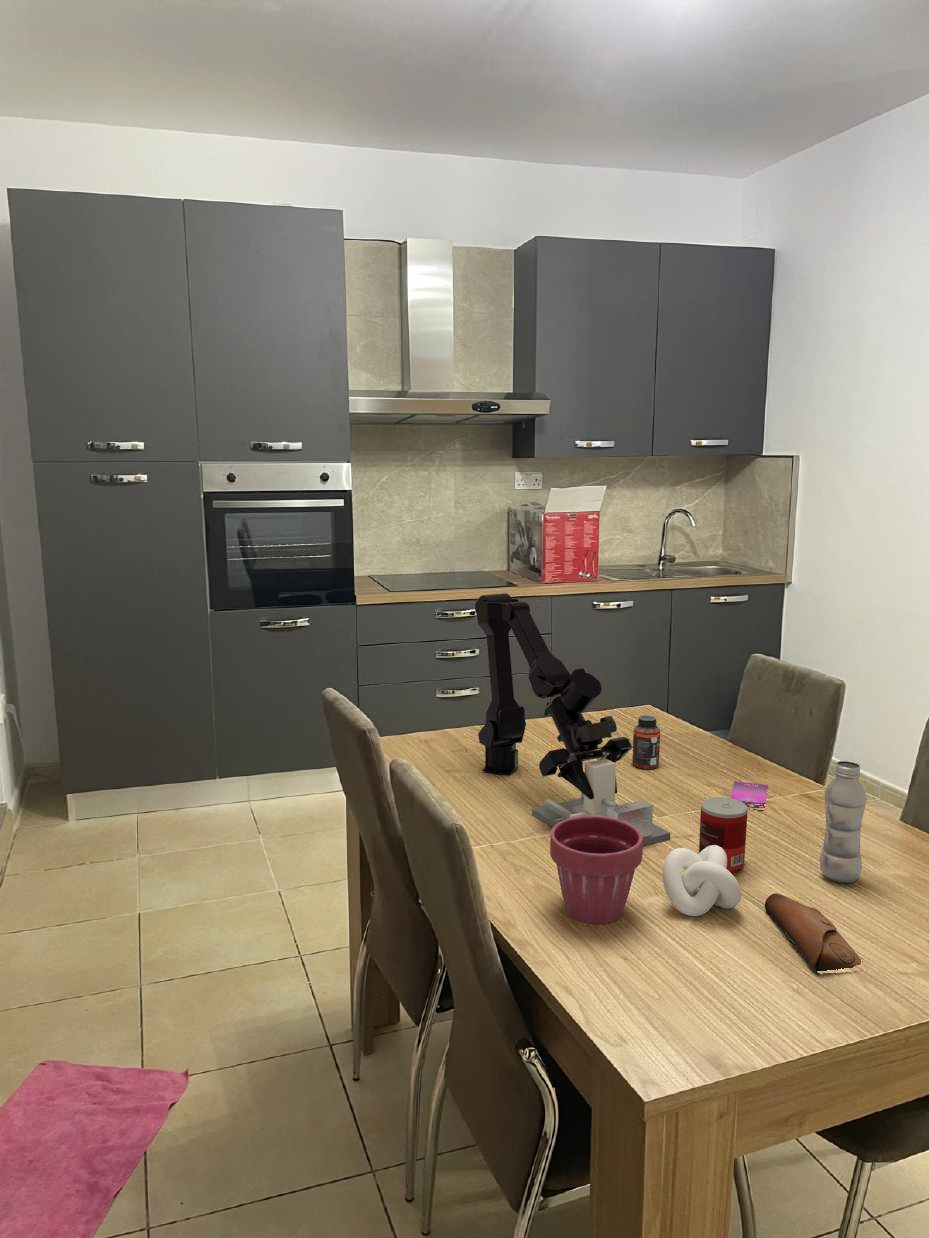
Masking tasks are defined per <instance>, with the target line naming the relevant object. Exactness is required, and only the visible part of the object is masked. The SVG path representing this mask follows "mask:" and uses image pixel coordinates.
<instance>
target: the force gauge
mask: <svg viewBox="0 0 929 1238" xmlns="http://www.w3.org/2000/svg"><path fill="white" fill-rule="evenodd" d="M616 768H617V762H616V763H614V762H612V761H610V760H608V759H602V760H597V759H596V760H594V761H588V762H585V763H584V773H585V775H586V777H587V780H588V782H589V784H590V786H591V788H592V791H593V794H594V798H593V799H592V800H590V799H589V798H588V797H587V796H585V795H584V805H579V806H575V807H572V813H574V814H572V815H570V818H573V817H579V816H604V817H607V811H608V808H610V807H614V806H617V805H618V804H617V803H616V794H615V778H616V779H617V775H616V774H617V769H616ZM616 804H617V805H616Z"/></svg>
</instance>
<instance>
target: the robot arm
mask: <svg viewBox="0 0 929 1238" xmlns="http://www.w3.org/2000/svg"><path fill="white" fill-rule="evenodd" d="M530 607H531V606H530V605H529V604H528V603H527V602H526V601H523V600H521V599H519V598H515V597H511V595H510V594H509V593H507V592H503V593H495V594H494V593H493V594H492V593H491V594H482V595H480V596H479V597H478V599H477V601H476V602H475V604H474V610H475V614H476V618H477V624H478V626H479V627H480V628H481V630H482V631H483V633H484V634H485V635H486V645H487V647H486V648H487V656H488V658H487V659H488V667H489V668H488V669H489V678H490V679H489V680H490V691H491V694H490V695H491V701H490V704H489V706H488V709H486V712H485V724H484V725H483V726H482V728H481V729H480V730H479V732H478V734H477V737H478V741H479V744H481V745H483V746H484V747H485V749H484V751H485V752H484V754H485V755H484V756H485V757H484V758H485V759H484V760H485V761H484V764H485V765H484V767H483V769H482V772H483V773H484V772H485V773H490V774H491V773H492V774H497V775H498V774H499V775H505V776H506V775H507V776H510V775H511V774H513V772H515V770H516V769H517V768H518V767H519V749H518V748H517V744H522V743H523V739H524V735H525V731H526V725H527V721H526V715H525V714H526V713H525V708H524V706H522V705H521V706H520V705H519V703H518V701H516V698H515V691H514V678H513V668H512V656H511V646H510V644H511V643H510V632H511V631H512V632H513V635H514V637H515V639H516V641H517V643H518V645H519V647H520V649H521V651H522V653H523V654H524V658H525V659H526V662H527V664H528V666H529V673H528V680H529V683H530V684H531V689H532V691H533V693H534V694H535V697H537V698H539V699H548V698H553V700H551V701H549V702H546V705H545V706H546V707H545V709H544V712H543V714H544V717H551V718H552V721H553V724H554V725H555V727H556V729H557V732H558V734H559V735H558V736H557V737H556V739H557V741H558V743H561V742H563V745H564V747H565V748H564V747H563V748H557V749H552V750H549V751H548V752H547V753H546V754H545V755H544V757H542V759H541V760H540V761H539V764H538V767H539V768H538V769H539V771H540V774H541V776H542V777H548V776H553V775H557V777H558V778H562V779H564V780H565V781H567V782H568V783H569V784H571V785H572V786H573V787H575V788H576V789H577V790H579V791H580V793H581V792H582V793H583V794H584V795H585V796H587V797H588V798H589V799H590V800H592V799H593V798H594V794H593V791H592V788H591V786H590V784H589V782H588V780H587V777H586V775H585V770H584V766H583V765H584V764H583V762H586V761H590V760H596V761H597V760H602V759H608V760H610V761H612V762H614V763H616V764H617V762H618V761H621V760H622V759H623V758H624V757H625V756H626V755H627V754H628V753H629V752H630V751H631V750H633V744H632V743H631V741H630V739H629V738H628V737H626V736H620V737H615V738H612V737H613V735H612V734H613V733H616V732H617V730H618V727H617V724H616V721H615V720H614V718H613V716H612V715H608V716H604V717H601V718H599V722H592V721H591V720H590V719H586V720H585V717H584V714H583V712H586V710H587V709H589V707H590V706H591V705H592V704H593V703H594V702H595V700H597V698H598V697H599V696H601V695H600V694H601V692H602V683H601V682H600V680H599V679H597V678H596V676H594V675H592V674H591V673H588V672H586V671H585V668H583V667H581V668H575V669H573V671H572V672H570V671H569V669H567V667H566V666H565V664H564V662H563V661H562V660H560V659H559V658H557V657H556V656H554V655H553V654H552V653H551V651H550V649H549V647H548V646H547V643H546V642H545V640H544V637H543V636H542V633H541V632H540V629H539V628H538V625H537V624H536V622H535V620H534V618H533V616H532V614H531V608H530ZM606 738H607V739H609V740H608V741H607V742H606V743H605V744H604V745H603V746H599V745H601V744H603V742H604V741H603V739H606ZM610 738H611V739H610ZM558 770H559V772H558ZM557 772H558V773H557ZM556 773H557V774H556ZM617 793H618V784H617V777H616V778H615V795H616V794H617Z"/></svg>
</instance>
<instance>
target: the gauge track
mask: <svg viewBox="0 0 929 1238" xmlns="http://www.w3.org/2000/svg"><path fill="white" fill-rule="evenodd" d="M580 795H581V796H580V797H579V798H574V799H569V800H565V801H559V802H555V801H553V800H551V799H549V798H548V799H544V801H543V803H544V805H543V806H539V807H535V808H532V809H531V815H532V816H534V817H535V818H537V819H538V820H540V821H541V822H543V823H545V824H546V825H548V826H550V827H551V828H553V827H554V826H555V825H556V824H557V823H559V822H561V821H563V820H566V819H569V818H570V815H572V814H574V813H572V807H575V806H579V805H584V794H583V793H582V792H581V791H580ZM615 804H616V805H617V806H618V805H619V804H617V803H615ZM667 839H668V840H671V832H670V831H668V830H666V829H664V828H662V827H661V826H658V825H656V824H655V823H653V822H652V836H651V837H647V838H643V847H644V846H645V845H646V846H650V845H653V844H657V843H660V842H664V841H668V840H667ZM656 842H657V843H656Z"/></svg>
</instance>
